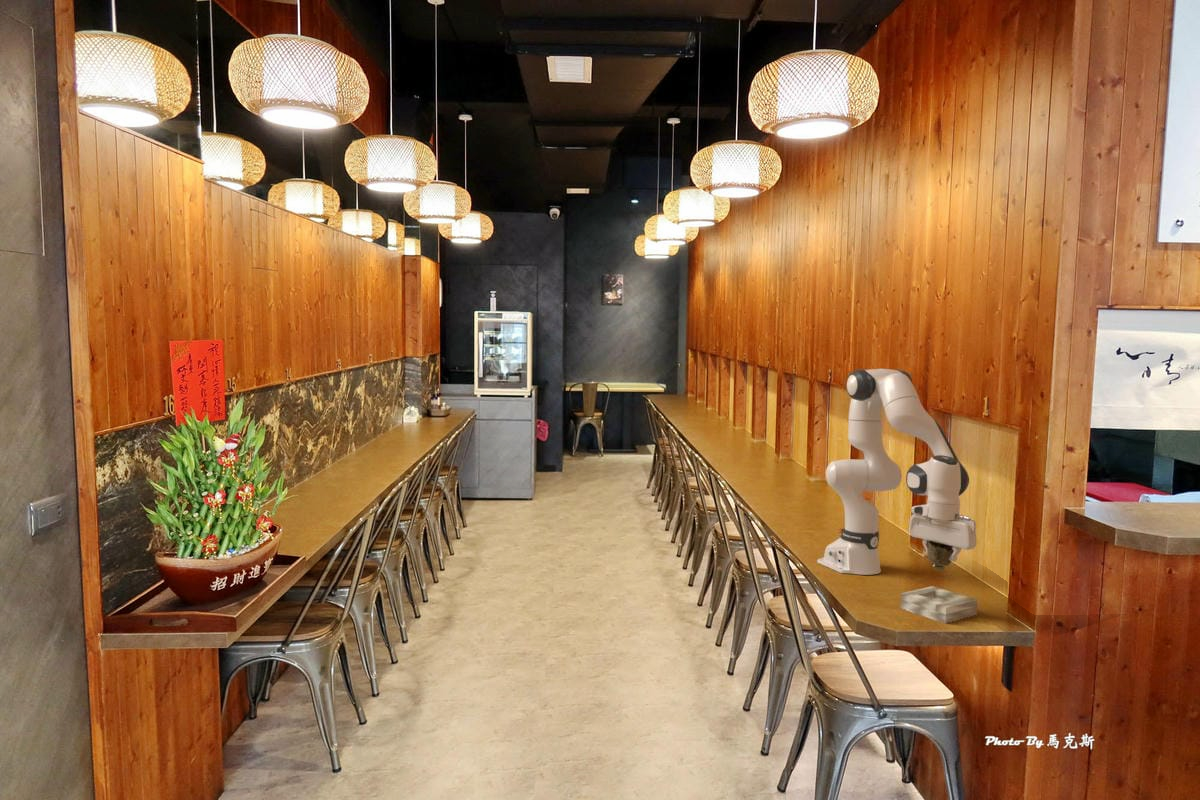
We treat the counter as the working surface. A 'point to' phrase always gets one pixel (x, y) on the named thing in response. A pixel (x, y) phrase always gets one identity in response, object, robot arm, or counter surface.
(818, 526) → the counter surface
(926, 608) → the white recessed square tray
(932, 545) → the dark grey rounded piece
